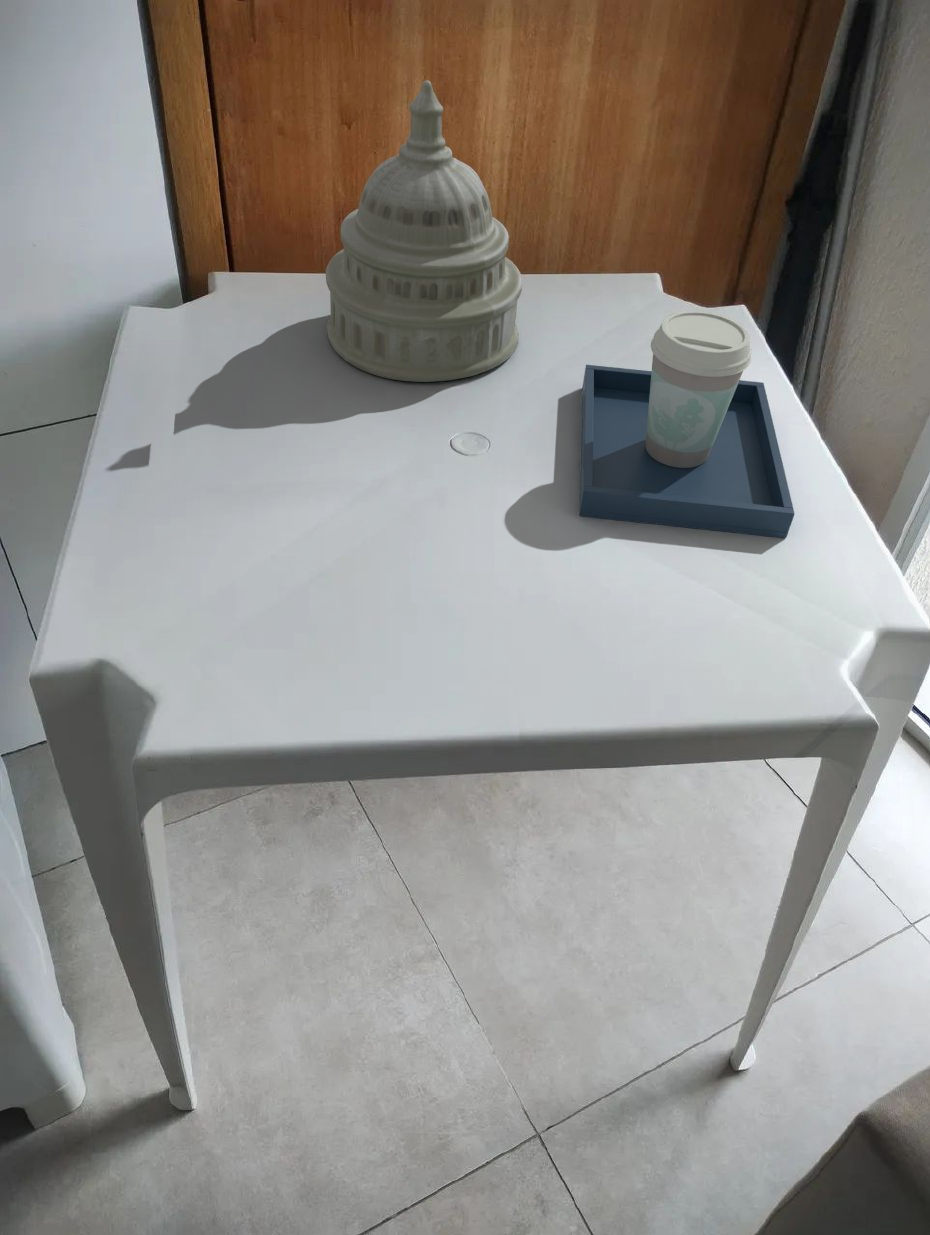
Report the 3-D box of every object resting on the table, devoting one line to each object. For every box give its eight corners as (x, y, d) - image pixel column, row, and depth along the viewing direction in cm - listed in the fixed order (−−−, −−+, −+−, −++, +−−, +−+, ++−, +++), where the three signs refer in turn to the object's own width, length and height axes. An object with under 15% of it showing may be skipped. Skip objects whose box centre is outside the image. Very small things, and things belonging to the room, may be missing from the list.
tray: (786, 538, 85) (794, 513, 83) (579, 516, 85) (583, 491, 84) (756, 405, 101) (763, 382, 99) (582, 387, 101) (585, 364, 99)
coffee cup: (611, 445, 93) (634, 324, 84) (670, 415, 97) (697, 298, 89) (683, 488, 88) (714, 366, 80) (741, 455, 93) (777, 336, 84)
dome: (565, 117, 84) (324, 116, 81) (534, 381, 101) (334, 388, 98) (517, 51, 99) (310, 47, 95) (497, 292, 116) (321, 296, 112)
